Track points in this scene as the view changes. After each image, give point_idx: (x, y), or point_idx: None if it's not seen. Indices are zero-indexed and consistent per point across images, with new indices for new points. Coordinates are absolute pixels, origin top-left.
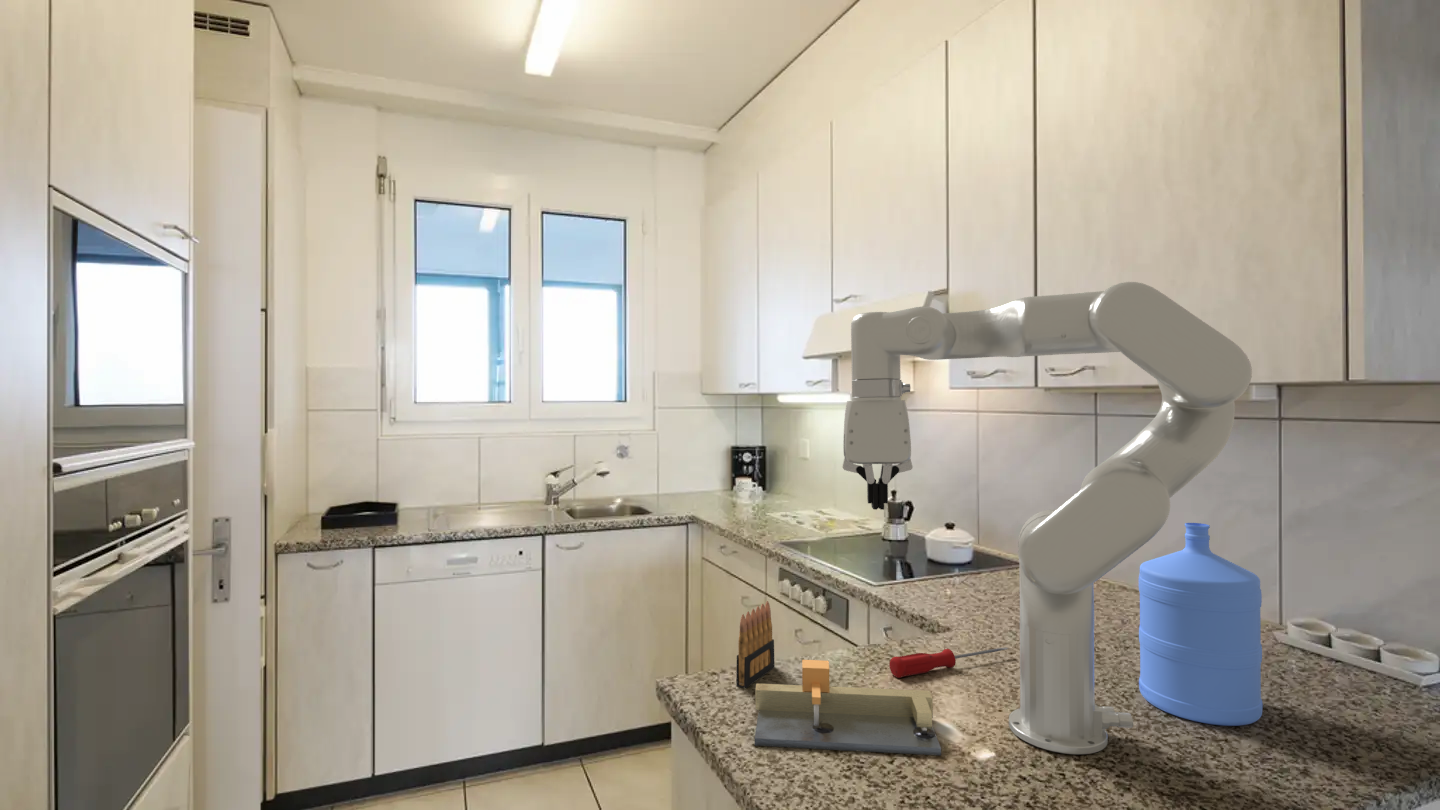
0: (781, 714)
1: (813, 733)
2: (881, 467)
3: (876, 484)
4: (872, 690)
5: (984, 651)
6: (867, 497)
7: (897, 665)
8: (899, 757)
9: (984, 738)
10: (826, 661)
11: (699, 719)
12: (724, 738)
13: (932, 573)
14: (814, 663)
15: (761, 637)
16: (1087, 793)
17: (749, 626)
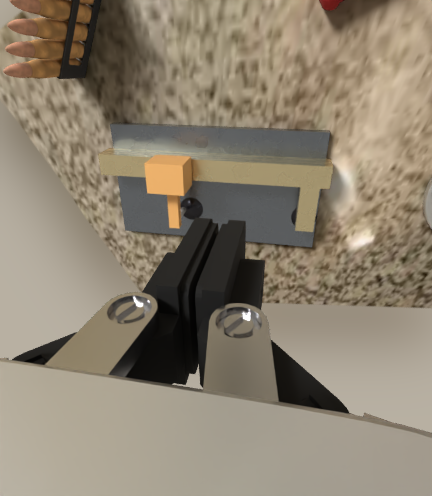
0: (143, 178)
1: (181, 220)
2: (203, 388)
3: (184, 382)
4: (250, 169)
5: None
6: (163, 258)
7: (323, 5)
8: (267, 246)
9: (378, 207)
10: (179, 168)
11: (60, 174)
12: (97, 214)
13: None
14: (162, 177)
15: (58, 15)
16: (427, 301)
17: (29, 56)
